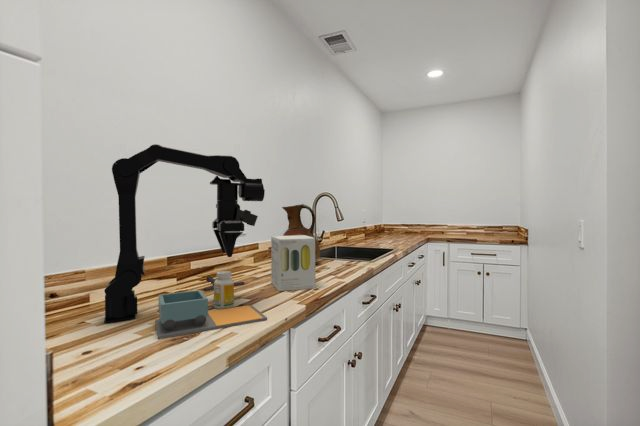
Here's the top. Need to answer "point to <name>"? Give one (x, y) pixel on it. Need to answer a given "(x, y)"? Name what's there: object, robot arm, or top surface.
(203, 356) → the top surface
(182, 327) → the track
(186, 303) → the box
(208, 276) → the bracket
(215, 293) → the supplement bottle
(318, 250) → the ceramic pitcher
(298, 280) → the supplement box
